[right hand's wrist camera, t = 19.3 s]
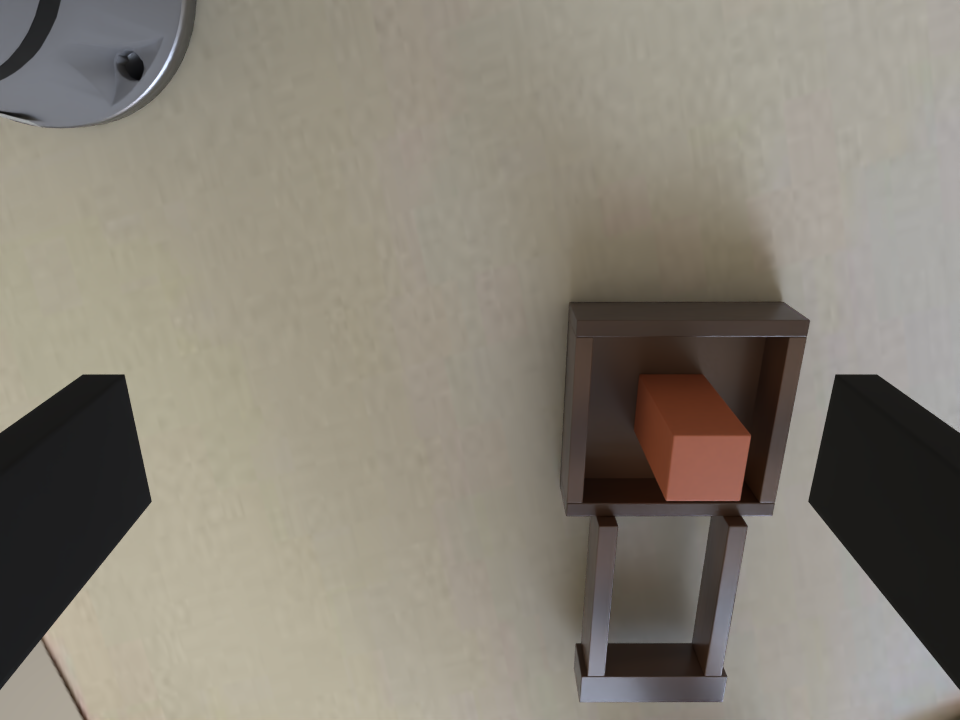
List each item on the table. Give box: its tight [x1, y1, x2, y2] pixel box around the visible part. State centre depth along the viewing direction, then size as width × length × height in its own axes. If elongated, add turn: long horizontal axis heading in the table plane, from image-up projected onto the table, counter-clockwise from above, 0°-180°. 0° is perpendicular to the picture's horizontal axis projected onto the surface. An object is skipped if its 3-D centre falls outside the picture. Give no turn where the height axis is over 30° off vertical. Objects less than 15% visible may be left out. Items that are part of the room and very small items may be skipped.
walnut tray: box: [560, 302, 810, 702], centre depth 43 cm, size 28×13×4 cm, turn 0°
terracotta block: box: [634, 374, 751, 501], centre depth 39 cm, size 4×4×8 cm
